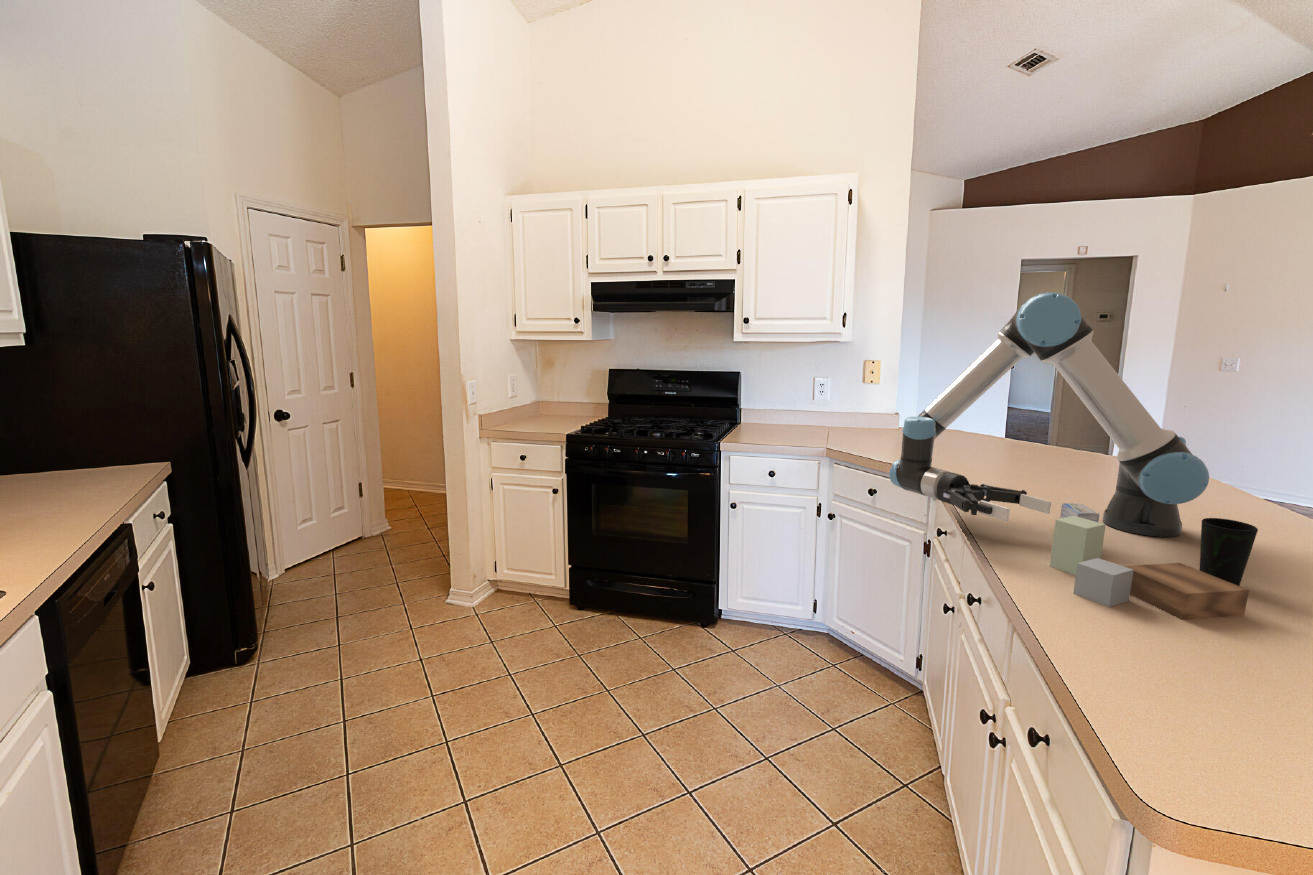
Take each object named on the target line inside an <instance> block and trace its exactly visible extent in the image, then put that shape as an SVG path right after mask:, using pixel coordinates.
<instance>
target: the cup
mask: <svg viewBox="0 0 1313 875" xmlns="http://www.w3.org/2000/svg"><path fill="white" fill-rule="evenodd" d="M1200 527H1201V530H1200V533H1201V534H1200V552H1199V569H1198V570H1199V571H1202V572H1204V573H1207V574H1209V575H1212V576H1215V577H1217V578H1220V579H1222V580H1225V581H1227V582H1230V583H1233V584H1235V585H1238V586H1240V585H1241V582H1242V580H1243V577H1244V573H1245V570H1246V566H1247V564H1248V561H1249V559H1250V556H1251V551H1252V549H1253V545H1254V543H1255V540H1256V537H1257V535H1258V531H1259V529H1258V527H1257V526H1255V525H1252V524H1249V523H1247V522H1243V521H1239V520H1233V519H1228V518H1220V517H1219V518H1218V517H1217V518H1216V517H1205V518H1203V519H1201V526H1200ZM1240 587H1241V586H1240Z"/></svg>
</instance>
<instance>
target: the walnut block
mask: <svg viewBox="0 0 1313 875" xmlns="http://www.w3.org/2000/svg"><path fill="white" fill-rule="evenodd" d="M1123 566H1124V567H1127V568H1130V569H1133V570H1134V571H1133V577H1132V584H1131V590H1130V596H1132V597H1134V598H1135V599H1138V600H1140V601H1142V602H1144V603H1147V604H1148V605H1151V606H1153V607H1154V606H1155V607H1154V608H1156V607H1157V608H1156V609H1158V610H1160V609H1161V611H1162V612H1164V611H1165V613H1166V614H1169V615H1170V616H1172V617H1175V616H1176V617H1175V618H1177V619H1178V620H1181V621H1185V620H1187V619H1188V620H1200V619H1202V620H1203V619H1216V618H1231V617H1232V618H1233V617H1244V616H1245V612H1246V607H1247V602H1248V597H1249V596H1248V595H1249V591H1250V590H1249V589H1247V588H1245V587H1242V586H1238V585H1235V584H1233V583H1230V582H1227V581H1225V580H1222V579H1220V578H1217V577H1215V576H1212V575H1209V574H1207V573H1204V572H1202V571H1199V570H1200V569H1197V568H1194V567H1191V566H1190V565H1189V566H1188V565H1186V564H1183V563H1181V562H1171V563H1169V562H1167V563H1154V564H1153V563H1151V564H1150V563H1149V564H1134V565H1132V564H1131V565H1123Z"/></svg>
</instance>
